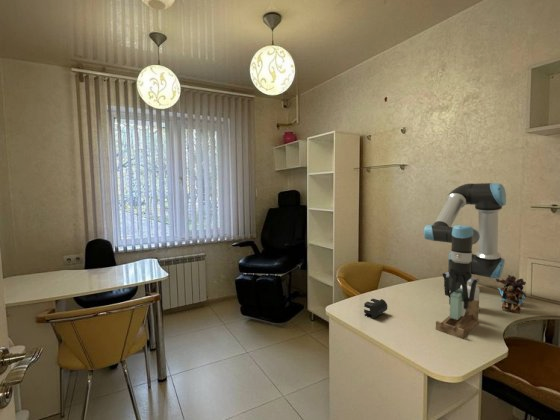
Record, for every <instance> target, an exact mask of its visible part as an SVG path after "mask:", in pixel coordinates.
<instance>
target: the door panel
mask: <svg viewBox="0 0 560 420" xmlns="http://www.w3.org/2000/svg"><path fill="white" fill-rule="evenodd" d="M450 296H451V297H450V304H449V317H450V318H453V319H456V320H458V319H459V318H460V317H461V306H462V301H463V300H464V298H463V290H462V289H461V288H459V289H458V290H456V291H455V292H453V293H452V294H451V295H450ZM465 312H466V309H465Z"/></svg>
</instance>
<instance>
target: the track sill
mask: <svg viewBox="0 0 560 420" xmlns="http://www.w3.org/2000/svg"><path fill="white" fill-rule="evenodd" d="M479 311H480V299H479V300H475V299H474V300H473V301H472V302H468V308H467V309H466V312H465V315H464V316H461V317H460V318H459V319H458V320H456V319H453V318H450V317H449V316H450V315H449V316H447V317H446V318H445V319H443V321H439V320H436V321H435V330H437V331H438V332H442V333H445V334H448V335H449V336H454V337H456V338H458V339H462V340H463V339H464V338H465V337H466V336H467V334H469V332H471V330H473V328H474V327H475V326H476V325H477V323H479Z"/></svg>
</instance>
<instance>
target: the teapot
mask: <svg viewBox="0 0 560 420" xmlns="http://www.w3.org/2000/svg"><path fill="white" fill-rule="evenodd" d="M497 289H498V290H499V294H500V295H501V297H502V296H503V291H501V288H499V287H497ZM525 299H526V298H525V296H524V295H523V296H522V299H519V303H518V304H519V305H520V306H521V305H522V304H524V300H525ZM504 300H505V299H502V298H501V302H503V301H504Z"/></svg>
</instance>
